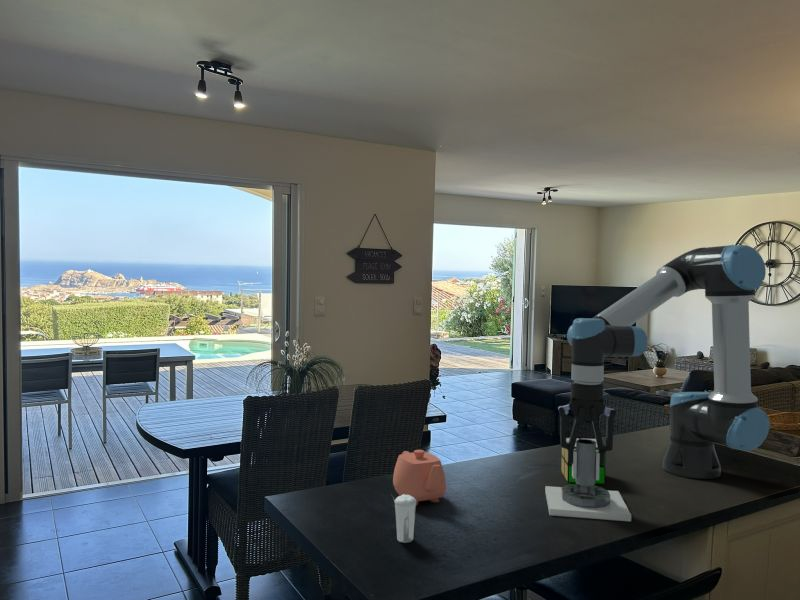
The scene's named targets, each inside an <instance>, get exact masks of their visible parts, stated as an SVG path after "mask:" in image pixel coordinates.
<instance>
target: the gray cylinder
mask: <svg viewBox="0 0 800 600" xmlns="http://www.w3.org/2000/svg"><path fill="white" fill-rule="evenodd" d="M588 439H589V438H582V439H581V438H579V440H577V441H576V451H577V473H576V483H575V484H578V485H581V486H596V484H595V466H596V442H595V441H593V440H588Z"/></svg>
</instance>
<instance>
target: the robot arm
mask: <svg viewBox="0 0 800 600" xmlns="http://www.w3.org/2000/svg"><path fill="white" fill-rule="evenodd" d="M766 270H767V269H766V264H765V261H764V259H763V257H762V255H761V254H760V253H759V252H757V250H756V249H755V248H753V247H752V246H749V245H745V244H743V245H742V244H731V245H730V244H729V245H720V246H719V245H718V246H711V247H710V246H709V247H707V246H706V247H698V248H693V249H691V250H689V251H686V252H684V253H683V254H680V255H679V256H677V257H675V258H673V259H672V260H670V261H669V262H667V263H665V264H664V265H663V266H661V267H660V268H658V269H657V271H656V274H655V275H654V276H653V277H651V278H650V279H648V280H646V281H645V282H644V283H642V284H641V285H640V286H638V287H637V288H635V289H633V290H632V291H631V292H629V293H627V294H626V295H624V296H623V297H621V298H620V299H619V300H617V301H616V302H614V303H613V304H611V305H610V306H608V307H607V308H605V309H604V310H602V311H601V312H599V313H598V314H596V315H595V316H593V317H592V318H590V317H589V318H586V317H585V318H584V317H579V318H578V317H577V318H575V319H574V320H573V321H572V325H570V326H569V327H568V330H567V333H566V337H567V341H568V344H569V345H570V346H571V370H570V371H571V373H570V374H571V375H570V377H571V378H570V379H571V380H572V382H571V383H570V400H569V402H568V404H566V405H559V406H558V407H557V409H558V412H559V417H560V424H559V425H560V428H559V429H560V431H559V432H560V434H559V435H560V438H559V439H560V440H559V441H560V442H559V443H560V446H561V449H562V448H565V449H567V450H568V462H569V464H572V477H573V479H576V473H577V451H576V449H574V447H575V443H576V439H577V438H578V435H579V431H580V429H581V428H580V427H581V425H582V422H584V421H585V422H586V421H587V422H588V421H589V422H591V424H592V428H593V433H594V436H595V439H596V442H597V446H598V450H596V466H595V479H596V480H599V466H603V465H604V453H605V452H610V451H611V452H612V451H613V443H614V441H613V440H614V419H615V417H616V415H617V411H616V410H615V408H613V407H612V408H611V407H608V406H606V404H605V403H604V384H603V382H604V380H605V377H604V376H605V374H604V372H605V371H604V369H605V367H604V366H605V358H613V357H614V358H615V357H618V358H620V357H622V358H623V357H629V358H632V357H638V356H642V355H643V354H644V353H645V351H646V350H647V347H648V336H647V333H646V332H645V330H644V329H642V327H640V326H634V325H635V324H636V323H637V322H638V321H640V320H641V319H643V318H644V317H646V316H647V315H649V314H650V313H652V312H653V311H654V310H656V309H657V308H659V307H660V306H662V305H664V303H666V302H667V301H669V300H671V299H672V298H673V297H675V298H677V297H681V296H683V295H684V294H686V293H688V292H691V291H695V290H696V291H697V290H704V296H705V298H706V299H707V300H708V301H709V302H710V303H711V315H712V316H711V320H712V322H711V323H712V324H711V325H712V351H713V352H712V353H713V354H712V355H713V356H712V357H713V383H714V386H713V391H712V392H711V391H710V392H709V391H681V392H675V393H673V394H672V395H671V396H670V402H669V403H670V405H669V443H668V446H667V449H666V451H665V454H664V456H663V459H662V469H663V470H664V471H666V472H668V473H670V474H671V475H672V474H673V475H677V476H679V477H684V478H692V479H701V480H702V479H703V480H706V479H707V480H709V479H716V478H719V477H721V475H722V474H721V473H722V471H721V470H722V469H721V468H722V467H721V463H720V461H719V458H718V455H717V452H716V449H715V444H718V445H721V446H725V447H727V448H729V449H732V450H739V451H744V452H749V451H753V450H755V449H757V448H759V447H760V446H761V445H762V444H763V442H765V440H766V439H767V436H768V435H769V431H770V423H771V422H770V418H769V415H768V414H767V412H766V411H764V410H762V409H761V408H759V400H758V399H759V398H758V397H757V396H756V395H755V394H753V392H752V379H751V342H750V340H751V338H750V312H749V311H750V309H749V305H750V304H749V303H750V301H751V300H753V298H755V296H756V289H758V288H759V287H760V286H762V284H763V283H764V282H763V281H764V280H765V278H766ZM569 410H571V412H572V413H573V415H574V420H573V423H572V424H573V425H572V429H571V433H570V436H569V438H570V439H569V443H567V442H566V438H567V415H568V414H569ZM603 413H604V415H605V417H606V420H605V421H606V422H605V423H606V425H605V444H604V442H603V437H602V436H603V435H602V433H601V428H600V424H599V417H600V416H601V415H602V414H603Z"/></svg>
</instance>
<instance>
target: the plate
mask: <svg viewBox="0 0 800 600" xmlns="http://www.w3.org/2000/svg"><path fill="white" fill-rule="evenodd" d="M562 487H563V486H562ZM562 487H561V486H549V485H545V488H544V490H545V491H544V492H545V498H546V503H547V504H546V505H547V508H548V509H547V510H548V514H549V516H554V517H555V516H556V517H568V518H582V519H594V520H595V519H596V520H606V521H607V520H608V521H621V522H632V513H631V512H630V510H629V508H628V506H627V504H626V503H625V501H624V499H623V496H622V495H621V493H620V491H619V490H607V489H606V490H607V491H608V492H609V494H610V504H609V505H607V506H606V507H601V508H584V507H579V506H575V505H571V504H569V503H567V502H565V501H563V500H562ZM579 495H581V496H589V497H593V496H590V495H582V494H579Z"/></svg>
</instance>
